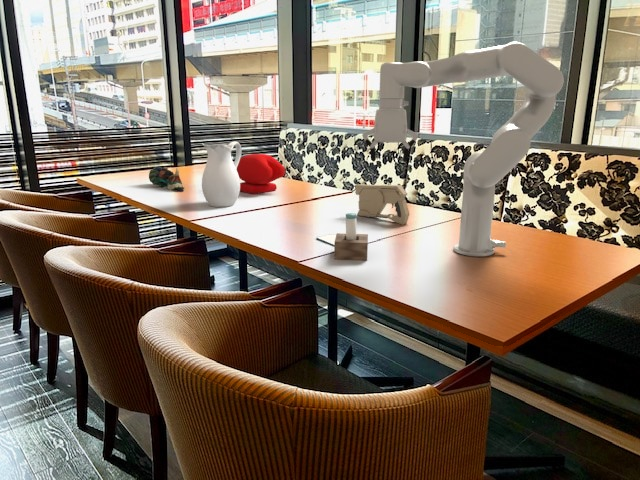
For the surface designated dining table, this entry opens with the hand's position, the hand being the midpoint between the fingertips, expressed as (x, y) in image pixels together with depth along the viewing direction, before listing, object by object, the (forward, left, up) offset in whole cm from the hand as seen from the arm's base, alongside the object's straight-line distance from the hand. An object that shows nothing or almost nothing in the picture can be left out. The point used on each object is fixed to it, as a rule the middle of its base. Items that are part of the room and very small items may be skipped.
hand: (389, 161), depth 163 cm
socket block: (+11, +10, -28) cm, 32 cm away
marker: (+11, +10, -27) cm, 31 cm away
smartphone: (+16, -4, -29) cm, 33 cm away
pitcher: (+71, -63, -28) cm, 99 cm away
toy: (+63, -94, -29) cm, 117 cm away
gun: (+1, -39, -29) cm, 48 cm away
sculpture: (+112, -98, -29) cm, 152 cm away
